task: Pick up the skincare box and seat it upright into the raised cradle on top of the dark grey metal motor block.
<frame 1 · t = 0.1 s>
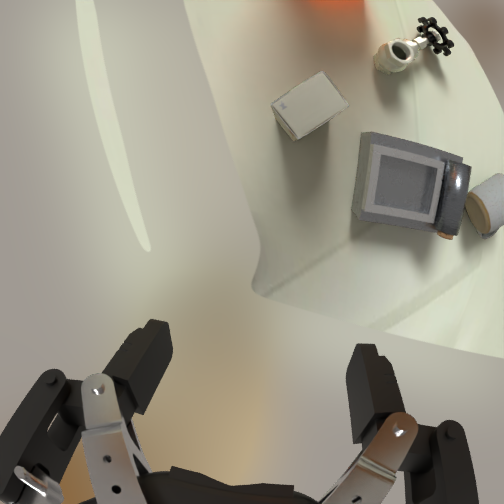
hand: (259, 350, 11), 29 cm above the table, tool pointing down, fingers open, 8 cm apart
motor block: (401, 180, 33), on the table
ceramic mug: (481, 204, 32), on the table
valve: (402, 53, 26), on the table
skincare box: (303, 116, 33), on the table
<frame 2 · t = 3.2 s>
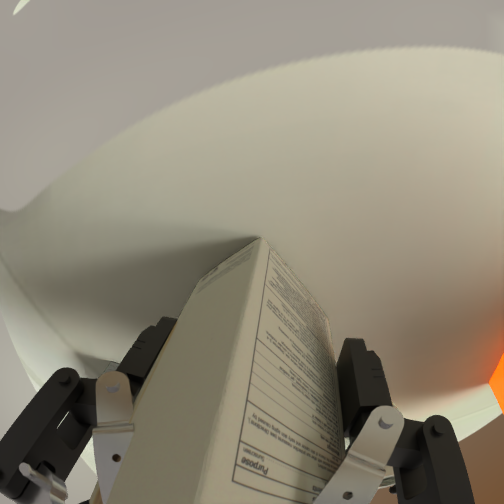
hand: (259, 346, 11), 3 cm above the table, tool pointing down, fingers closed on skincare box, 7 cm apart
skincare box: (268, 300, 14), on the table, touching gripper
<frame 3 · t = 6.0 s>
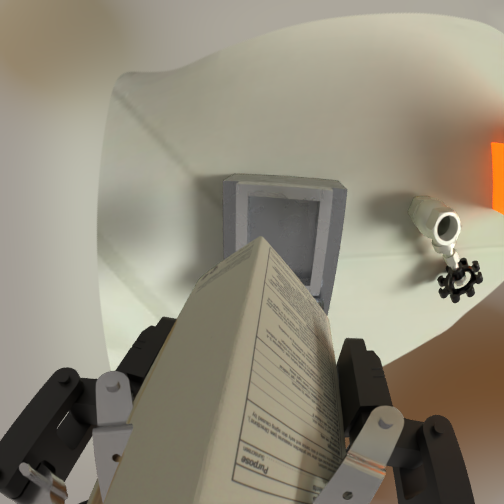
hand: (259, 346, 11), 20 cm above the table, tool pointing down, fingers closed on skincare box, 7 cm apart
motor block: (282, 238, 31), on the table
valve: (433, 235, 28), on the table
skincare box: (268, 299, 14), point 17 cm above the table, touching gripper
when the fingers open (10 cm above the table, at t = 9.0 s): skincare box stays where it is, resting on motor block.
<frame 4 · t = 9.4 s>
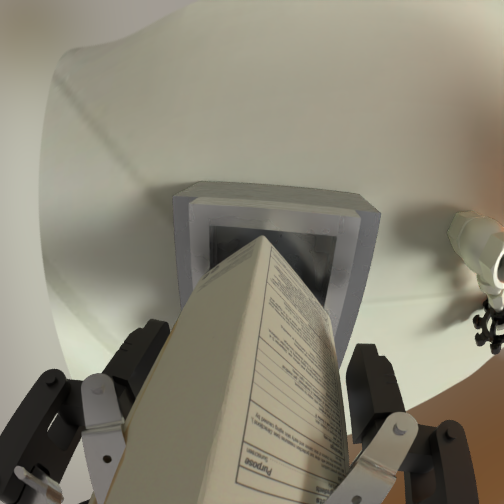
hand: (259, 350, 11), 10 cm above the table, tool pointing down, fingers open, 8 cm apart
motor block: (272, 277, 21), on the table
valve: (474, 263, 18), on the table
skincare box: (269, 299, 14), point 6 cm above the table, touching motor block
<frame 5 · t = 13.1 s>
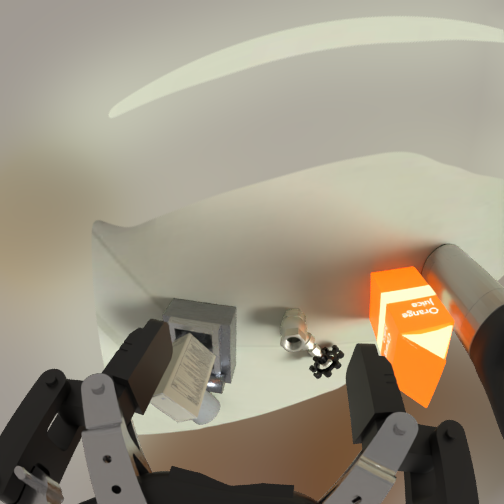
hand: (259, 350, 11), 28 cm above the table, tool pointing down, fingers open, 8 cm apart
orange juice: (391, 292, 40), on the table
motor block: (206, 334, 48), on the table
ceramic mug: (197, 391, 56), on the table
valve: (307, 330, 45), on the table
skincare box: (195, 348, 41), point 6 cm above the table, touching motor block
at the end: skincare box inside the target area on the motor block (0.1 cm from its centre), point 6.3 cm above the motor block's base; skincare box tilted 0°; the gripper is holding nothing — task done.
